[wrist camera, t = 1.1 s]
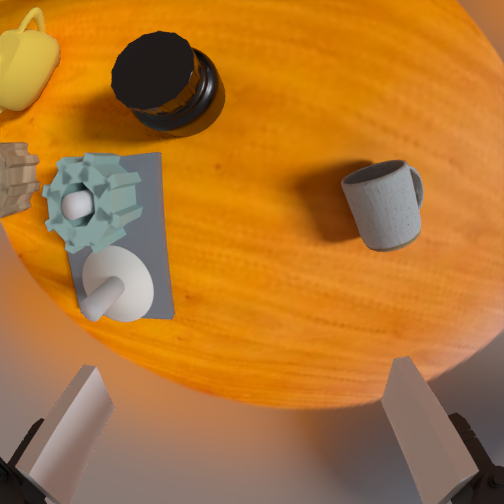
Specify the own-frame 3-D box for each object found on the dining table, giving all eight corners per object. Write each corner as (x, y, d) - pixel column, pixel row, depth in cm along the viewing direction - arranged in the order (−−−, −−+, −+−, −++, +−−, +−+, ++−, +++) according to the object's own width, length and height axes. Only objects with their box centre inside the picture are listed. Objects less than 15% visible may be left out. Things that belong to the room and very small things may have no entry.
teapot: (25, 145, 29) (-27, 147, 19) (-5, 117, 28) (-52, 116, 17) (89, 34, 25) (46, 6, 15) (50, 18, 23) (10, -3, 13)
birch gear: (-1, 151, 29) (-27, 153, 24) (39, 137, 29) (11, 136, 23) (3, 213, 32) (-23, 221, 27) (42, 207, 32) (15, 216, 26)
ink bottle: (193, 49, 27) (164, 0, 15) (245, 96, 29) (239, 59, 17) (133, 106, 29) (78, 85, 17) (181, 155, 31) (140, 151, 19)
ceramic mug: (356, 244, 33) (382, 265, 26) (331, 181, 31) (354, 185, 24) (424, 210, 32) (460, 222, 25) (404, 149, 30) (440, 147, 22)
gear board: (64, 162, 30) (22, 166, 22) (161, 148, 30) (130, 143, 22) (87, 312, 37) (57, 342, 28) (175, 318, 36) (157, 356, 28)
